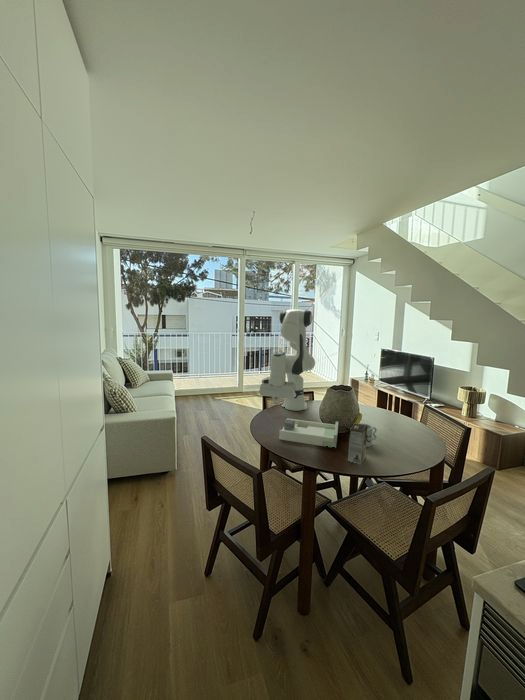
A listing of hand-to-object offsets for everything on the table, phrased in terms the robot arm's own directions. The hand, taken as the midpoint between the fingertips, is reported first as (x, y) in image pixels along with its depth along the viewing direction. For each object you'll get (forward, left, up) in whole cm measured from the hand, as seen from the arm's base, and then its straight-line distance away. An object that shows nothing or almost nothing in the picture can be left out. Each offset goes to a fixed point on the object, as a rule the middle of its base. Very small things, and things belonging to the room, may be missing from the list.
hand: (276, 404), depth 173 cm
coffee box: (+19, +45, -16) cm, 51 cm away
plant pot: (-21, +43, -16) cm, 50 cm away
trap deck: (0, +20, -16) cm, 25 cm away
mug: (-1, +50, -16) cm, 52 cm away
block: (0, +8, -13) cm, 15 cm away
